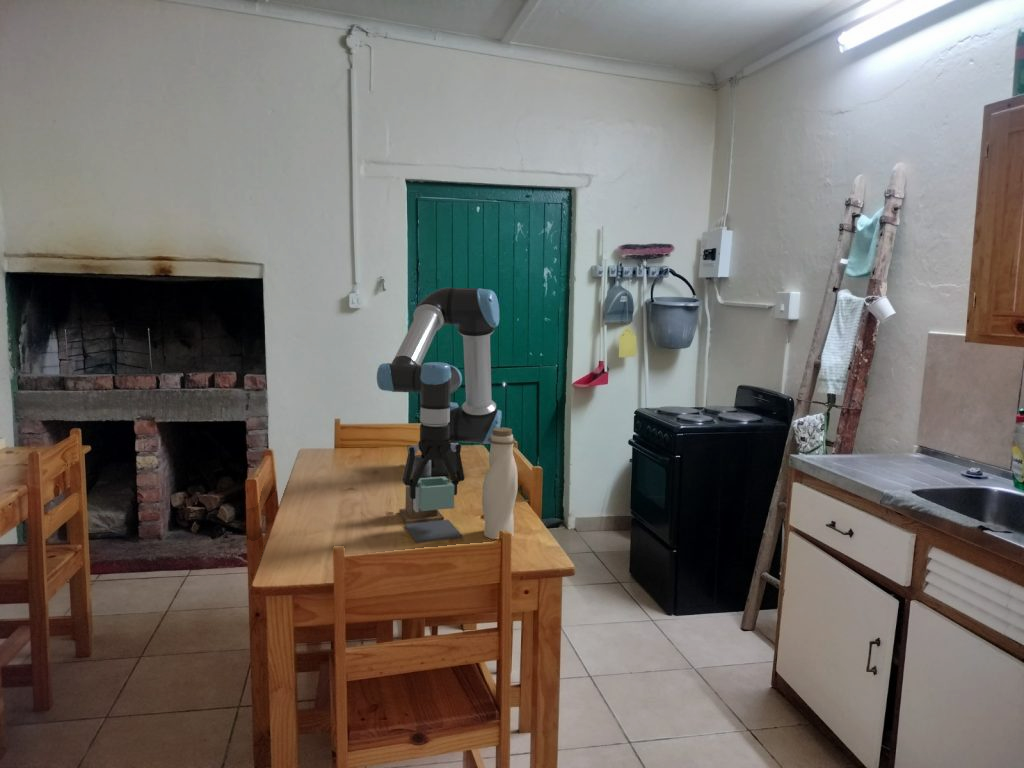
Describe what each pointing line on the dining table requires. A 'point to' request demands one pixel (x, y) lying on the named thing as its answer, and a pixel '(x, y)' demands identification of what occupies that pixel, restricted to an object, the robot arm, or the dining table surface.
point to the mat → (432, 531)
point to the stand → (409, 512)
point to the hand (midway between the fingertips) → (433, 508)
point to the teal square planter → (435, 493)
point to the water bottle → (500, 484)
